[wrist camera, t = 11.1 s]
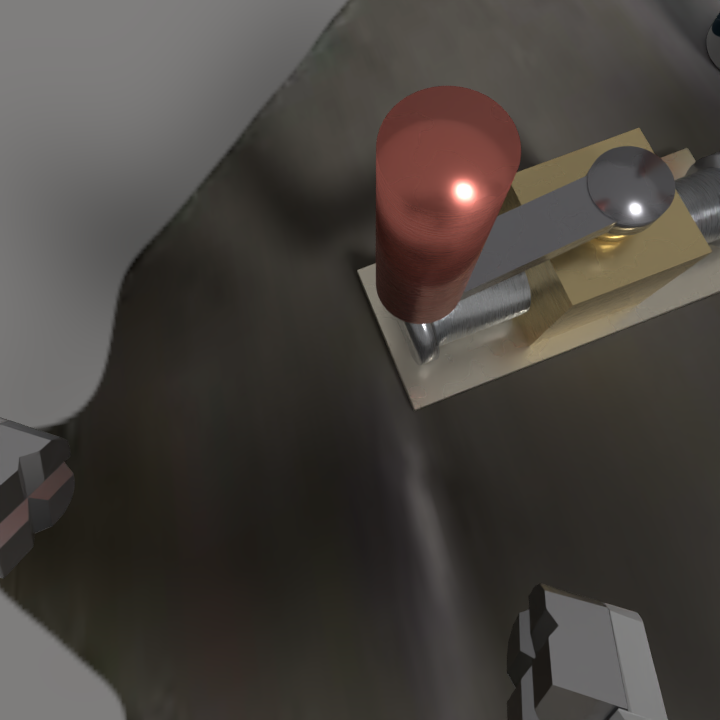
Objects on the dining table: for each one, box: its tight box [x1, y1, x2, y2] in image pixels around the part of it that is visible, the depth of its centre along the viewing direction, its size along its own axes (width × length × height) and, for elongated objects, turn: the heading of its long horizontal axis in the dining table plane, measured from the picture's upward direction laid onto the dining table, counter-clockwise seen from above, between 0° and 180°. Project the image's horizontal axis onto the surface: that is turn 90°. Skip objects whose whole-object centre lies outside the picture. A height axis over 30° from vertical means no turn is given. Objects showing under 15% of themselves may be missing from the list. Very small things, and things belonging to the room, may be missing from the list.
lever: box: [376, 86, 675, 325], centre depth 19 cm, size 14×4×10 cm, turn 115°
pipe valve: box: [357, 128, 720, 411], centre depth 29 cm, size 22×9×9 cm, turn 111°
